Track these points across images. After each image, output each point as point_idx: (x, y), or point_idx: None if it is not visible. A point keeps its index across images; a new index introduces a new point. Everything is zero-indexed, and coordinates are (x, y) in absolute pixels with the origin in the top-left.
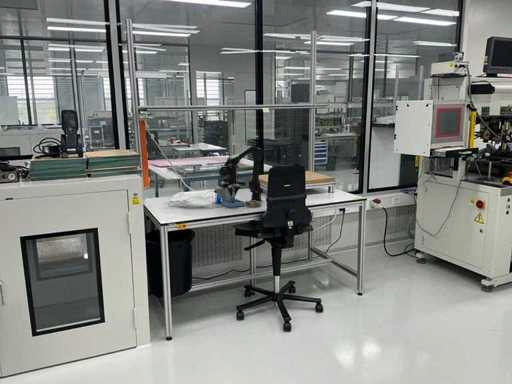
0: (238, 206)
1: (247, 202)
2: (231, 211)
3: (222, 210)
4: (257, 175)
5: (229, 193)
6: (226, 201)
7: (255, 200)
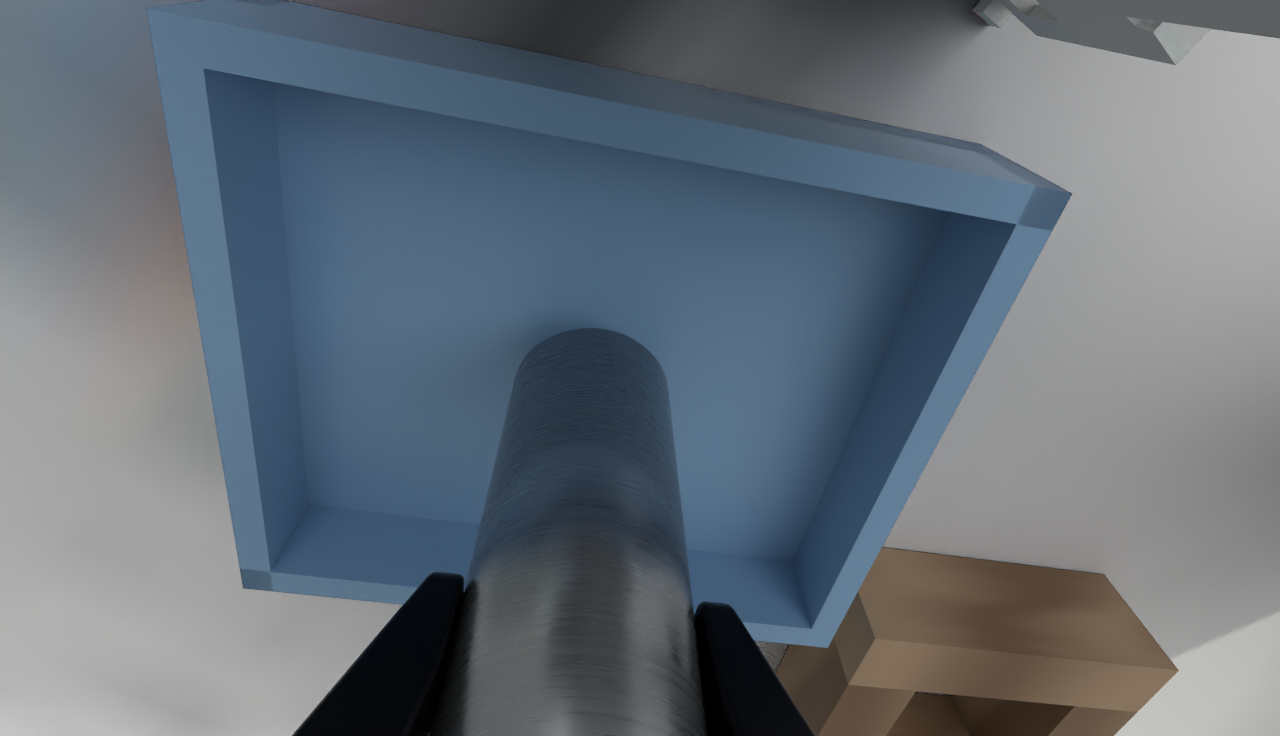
0: None
1: (835, 694)
2: (205, 669)
3: (20, 516)
4: None
5: (315, 728)
6: (480, 111)
7: (1134, 706)
